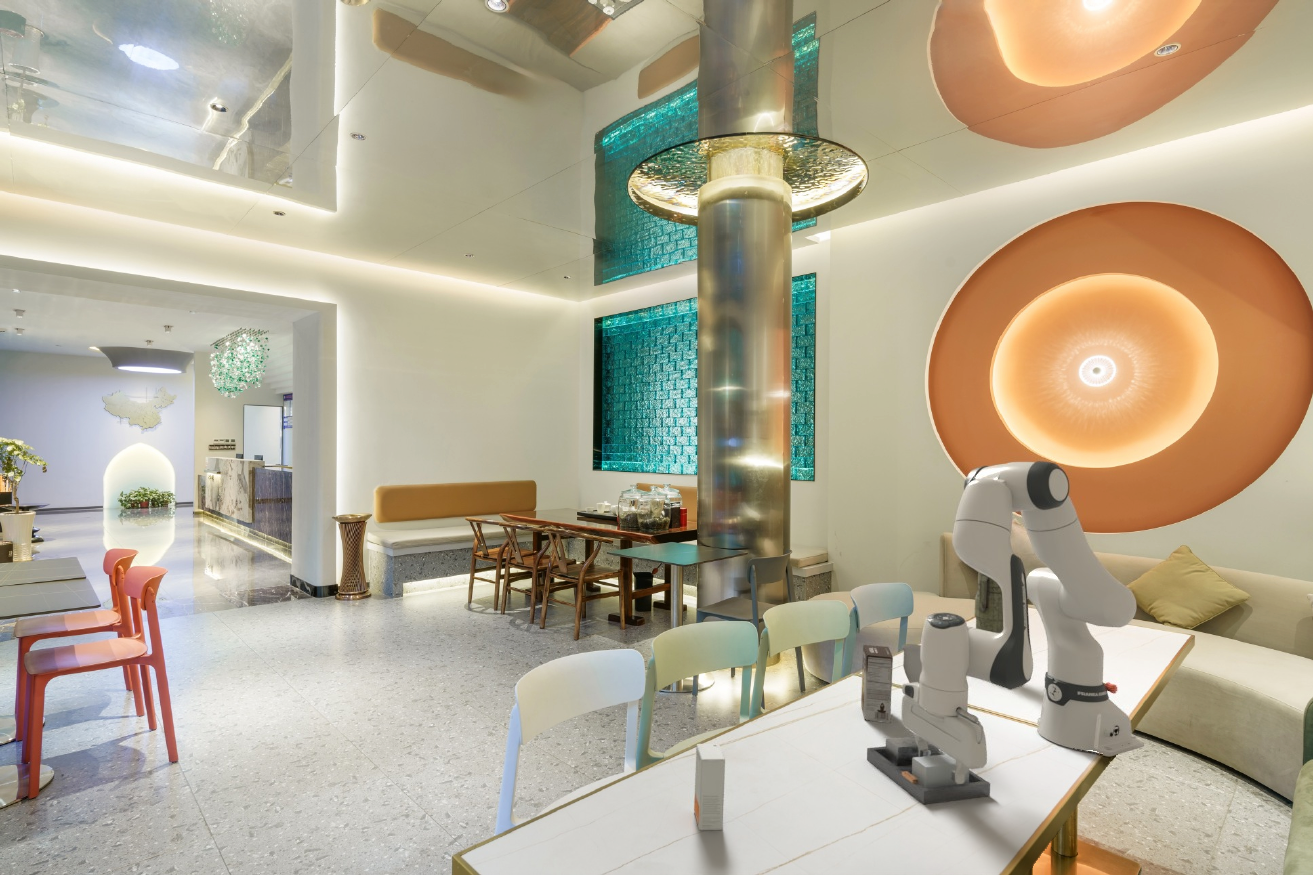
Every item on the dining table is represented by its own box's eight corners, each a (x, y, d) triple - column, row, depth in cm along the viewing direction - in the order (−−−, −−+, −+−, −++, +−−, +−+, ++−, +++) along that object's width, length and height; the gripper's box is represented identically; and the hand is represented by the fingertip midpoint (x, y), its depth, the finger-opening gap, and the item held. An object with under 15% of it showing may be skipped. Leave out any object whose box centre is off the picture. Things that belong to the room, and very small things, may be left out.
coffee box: (860, 706, 169) (862, 643, 170) (886, 709, 168) (888, 646, 168) (863, 720, 160) (866, 654, 161) (891, 723, 159) (894, 656, 159)
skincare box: (693, 811, 117) (696, 742, 117) (716, 811, 117) (719, 743, 117) (698, 831, 110) (701, 759, 111) (723, 830, 111) (726, 759, 111)
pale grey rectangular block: (954, 775, 132) (954, 753, 132) (968, 785, 128) (969, 762, 128) (911, 780, 130) (912, 757, 130) (925, 790, 126) (926, 767, 126)
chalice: (930, 719, 162) (932, 646, 163) (932, 730, 156) (934, 654, 156) (898, 714, 165) (901, 642, 165) (899, 725, 158) (902, 649, 159)
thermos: (1011, 675, 199) (1014, 559, 200) (998, 684, 191) (1002, 563, 192) (980, 668, 206) (983, 555, 206) (966, 676, 197) (970, 559, 198)
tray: (926, 753, 144) (927, 728, 144) (989, 795, 126) (990, 768, 127) (866, 759, 140) (867, 734, 140) (923, 804, 122) (924, 775, 122)
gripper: (997, 718, 120) (994, 795, 120) (922, 680, 140) (920, 745, 140) (968, 721, 118) (965, 799, 118) (896, 681, 138) (894, 748, 138)
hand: (940, 769), depth 129 cm, fingers open, 8 cm apart
